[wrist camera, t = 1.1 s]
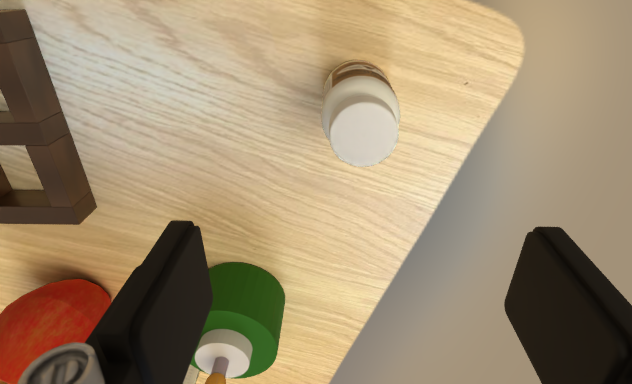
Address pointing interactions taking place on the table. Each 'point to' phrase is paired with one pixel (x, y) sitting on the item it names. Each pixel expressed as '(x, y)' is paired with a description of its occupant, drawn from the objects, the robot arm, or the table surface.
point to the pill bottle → (360, 113)
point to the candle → (240, 323)
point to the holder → (37, 134)
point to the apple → (47, 322)
